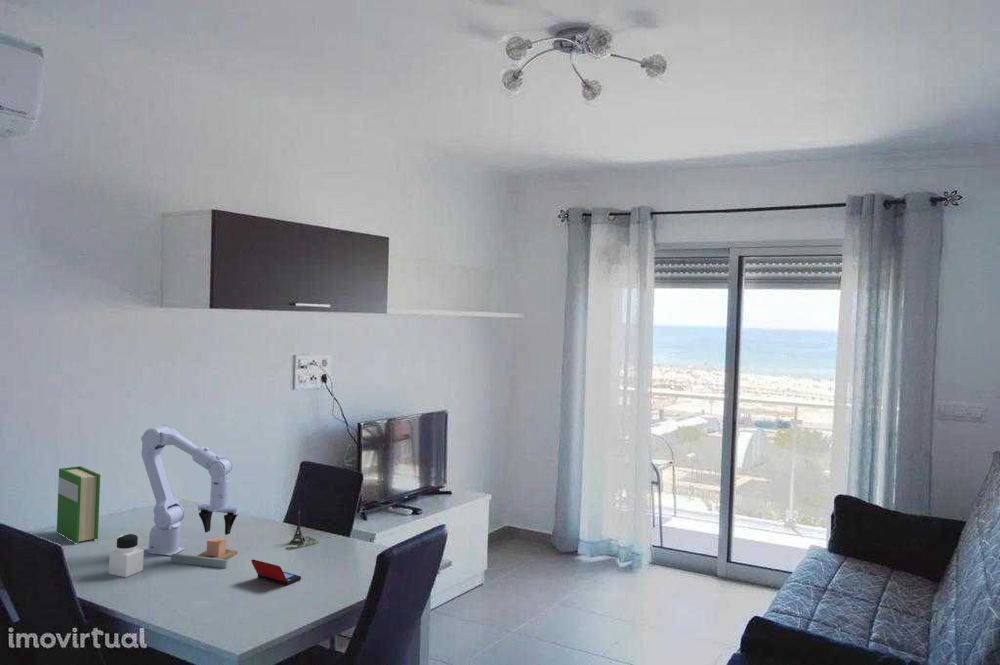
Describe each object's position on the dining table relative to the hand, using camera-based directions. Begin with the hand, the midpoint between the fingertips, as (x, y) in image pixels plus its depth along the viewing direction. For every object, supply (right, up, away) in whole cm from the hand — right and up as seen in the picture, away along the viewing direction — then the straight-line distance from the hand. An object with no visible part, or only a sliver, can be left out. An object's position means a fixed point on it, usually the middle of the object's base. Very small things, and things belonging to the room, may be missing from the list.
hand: (217, 532), depth 259 cm
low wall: (-3, -8, -8) cm, 12 cm away
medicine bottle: (-22, -8, -19) cm, 30 cm away
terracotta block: (0, -7, 0) cm, 7 cm away
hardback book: (-57, -5, +14) cm, 58 cm away
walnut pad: (0, -8, 0) cm, 8 cm away
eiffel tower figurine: (+23, -10, +19) cm, 31 cm away
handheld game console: (+26, -11, -19) cm, 34 cm away
